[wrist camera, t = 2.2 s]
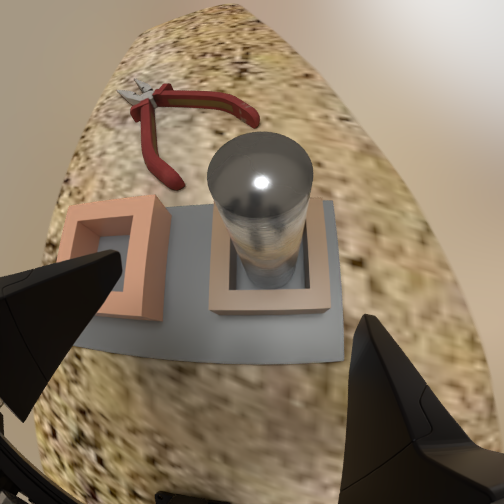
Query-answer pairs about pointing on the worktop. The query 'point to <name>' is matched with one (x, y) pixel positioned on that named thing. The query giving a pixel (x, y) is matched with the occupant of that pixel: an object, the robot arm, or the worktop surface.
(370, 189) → the worktop surface
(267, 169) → the peg
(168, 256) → the dock plate
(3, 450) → the robot arm
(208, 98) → the pliers
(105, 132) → the worktop surface
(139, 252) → the socket
